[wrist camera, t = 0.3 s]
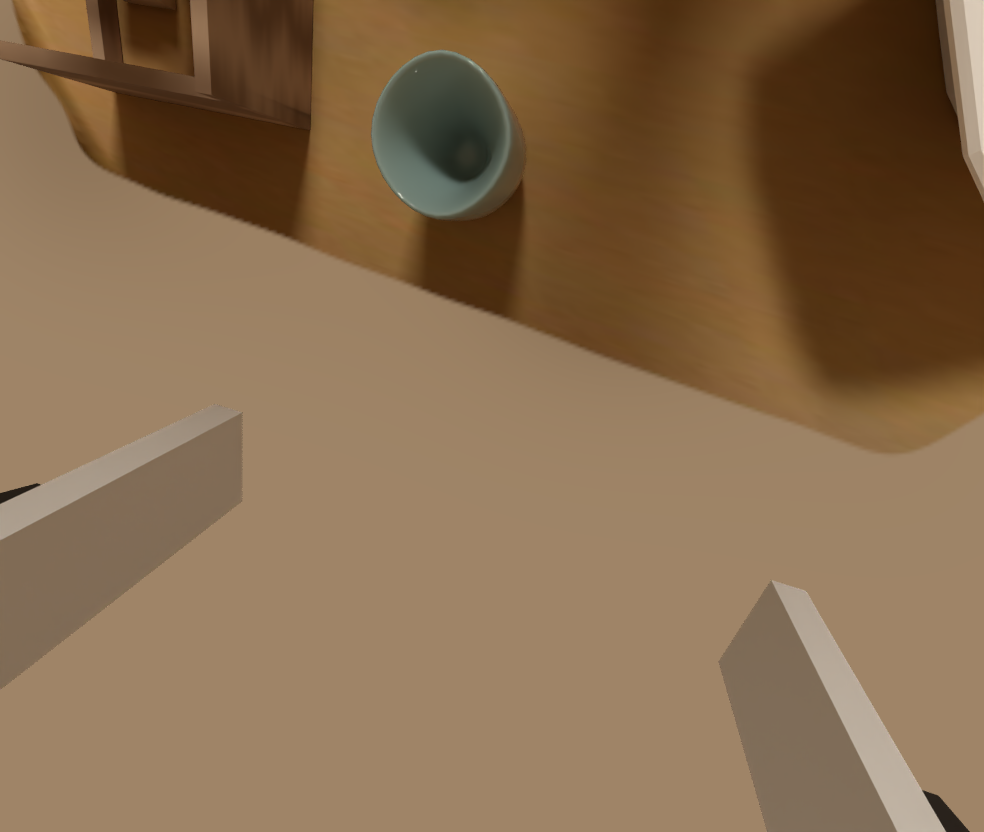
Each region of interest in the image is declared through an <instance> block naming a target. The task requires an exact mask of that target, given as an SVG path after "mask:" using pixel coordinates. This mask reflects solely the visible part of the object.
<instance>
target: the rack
mask: <svg viewBox="0 0 984 832" xmlns="http://www.w3.org/2000/svg"><path fill="white" fill-rule="evenodd" d="M86 6H87V13H88V21H89V28H90V36H91V43H92V51H93V58H92V57H86V56H81V55H75V54H70V53H65V52H59V51H54V50H49V49H43V48H38V47H32V46H27V45H22V44H16V43H10V42H5V41H0V59H2V60H6V61H9V62H13V63H16V64H19V65H23V66H26V67H30V68H33V69H37V70H40V71H44V72H47V73H50V74H54V75H57V76H61V77H64V78H68V79H71V80H75V81H78V82H82V83H85V84H88V85H92V86H95V87H99V88H102V89H106V90H109V91H113V92H116V93H121V94H126V95H132V96H137V97H142V98H147V99H152V100H157V101H163V102H168V103H173V104H178V105H183V106H188V107H193V108H199V109H204V110H209V111H214V112H219V113H224V114H229V115H235V116H240V117H245V118H250V119H255V120H260V121H265V122H271V123H276V124H281V125H286V126H291V127H296V128H301V129H307V130H310V116H311V73H312V30H313V0H190V9H191V25H192V41H193V57H194V74H195V77H194V76H188V75H183V74H178V73H172V72H167V71H161V70H156V69H151V68H145V67H140V66H135V65H129V64H124V63H123V59H122V50H121V41H120V32H119V24H118V15H117V6H116V0H86Z"/></svg>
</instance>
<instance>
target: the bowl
mask: <svg viewBox="0 0 984 832" xmlns="http://www.w3.org/2000/svg"><path fill="white" fill-rule="evenodd" d="M936 9H937V18H938V28H939V36H940V44H941V52H942V61H943V69H944V77H945V85H946V92H947V95H948V97H949V99H950V101H951V103H952V105H953V108H954V110H955V112H956V114H957V116H958V122H959V130H960V138H961V146H962V154H963V158H964V160H965V162H966V164H967V166H968V169H969V171H970V173H971V175H972V177H973V179H974V182H975V184H976V186H977V188H978V190H979V192H980V195H981V197H982V199H983V201H984V0H936Z"/></svg>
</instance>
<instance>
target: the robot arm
mask: <svg viewBox="0 0 984 832" xmlns="http://www.w3.org/2000/svg"><path fill="white" fill-rule="evenodd" d="M241 502H242V412H239V411H236V410H233V409H229V408H226V407H223V406H220V405H217V404H213V405H211V406H209V407H207V408H205V409H203V410H201V411H199V412H196V413H194V414H192V415H190V416H188V417H186V418H184V419H181V420H179V421H177V422H175V423H173V424H171V425H169V426H166V427H164V428H162V429H160V430H158V431H156V432H154V433H151V434H149V435H147V436H145V437H143V438H141V439H139V440H136V441H134V442H132V443H130V444H128V445H126V446H124V447H121V448H119V449H117V450H115V451H113V452H111V453H109V454H106V455H104V456H102V457H100V458H98V459H96V460H94V461H91V462H89V463H87V464H85V465H83V466H81V467H79V468H76V469H74V470H72V471H70V472H68V473H66V474H64V475H62V476H59V477H57V478H55V479H53V480H51V481H49V482H46V483H44V484H42V485H40V484H37V483H36V484H33V485H29V486H25V487H21V488H18V489H14V490H10V491H7V492H3V493H0V690H1V689H2V688H3V687H5V686H6V685H7V684H8V683H10V682H11V681H12V680H14V679H15V678H16V677H17V676H19V675H20V674H21V673H23V672H24V671H25V670H26V669H28V668H29V667H30V666H32V665H33V664H34V663H35V662H37V661H38V660H39V659H40V658H42V657H43V656H44V655H46V654H47V653H48V652H49V651H51V650H52V649H53V648H54V647H56V646H57V645H58V644H60V643H61V642H62V641H64V640H65V639H66V638H67V637H69V636H70V635H71V634H73V633H74V632H75V631H76V630H78V629H79V628H80V627H81V626H83V625H84V624H85V623H86V622H88V621H89V620H90V619H92V618H93V617H94V616H96V615H97V614H98V613H99V612H101V611H102V610H103V609H105V608H106V607H107V606H108V605H110V604H111V603H112V602H114V601H115V600H116V599H117V598H119V597H120V596H121V595H122V594H124V593H125V592H126V591H128V590H129V589H130V588H131V587H133V586H134V585H135V584H137V583H138V582H139V581H140V580H142V579H143V578H144V577H145V576H147V575H148V574H149V573H151V572H152V571H153V570H155V569H156V568H157V567H158V566H160V565H161V564H162V563H164V562H165V561H166V560H167V559H169V558H170V557H171V556H173V555H174V554H175V553H176V552H178V551H179V550H180V549H182V548H183V547H184V546H185V545H187V544H188V543H189V542H191V541H192V540H193V539H194V538H196V537H197V536H198V535H199V534H201V533H202V532H203V531H205V530H206V529H207V528H208V527H210V526H211V525H212V524H214V523H215V522H216V521H217V520H218V519H220V518H221V517H223V516H224V515H225V514H226V513H228V512H229V511H230V510H231V509H233V508H234V507H235V506H237V505H238V504H239V503H241ZM719 665H720V668H721V672H722V675H723V678H724V682H725V685H726V689H727V693H728V696H729V700H730V703H731V707H732V710H733V714H734V717H735V721H736V724H737V728H738V731H739V735H740V738H741V742H742V745H743V748H744V752H745V756H746V759H747V762H748V766H749V770H750V773H751V777H752V780H753V784H754V787H755V791H756V794H757V798H758V801H759V805H760V808H761V812H762V815H763V819H764V822H765V825H766V829H767V832H969V831H968V829H967V828H966V827H965V826H964V825H963V823H962V822H961V821H960V820H959V819H958V818H957V817H956V815H955V814H954V813H953V812H952V811H951V810H950V809H949V807H948V806H947V805H946V804H945V803H944V802H943V800H942V799H941V798H940V797H939V796H938V795H935V794H932V793H929V792H926V791H923V790H921V788H920V786H919V785H918V783H917V781H916V779H915V778H914V776H913V774H912V773H911V771H910V769H909V767H908V766H907V764H906V762H905V761H904V759H903V757H902V755H901V754H900V752H899V750H898V749H897V747H896V745H895V743H894V742H893V740H892V738H891V736H890V735H889V733H888V731H887V730H886V728H885V726H884V724H883V723H882V721H881V719H880V718H879V716H878V714H877V713H876V711H875V709H874V707H873V706H872V704H871V702H870V700H869V699H868V697H867V695H866V694H865V692H864V690H863V688H862V687H861V685H860V683H859V681H858V680H857V678H856V676H855V675H854V673H853V671H852V669H851V668H850V666H849V664H848V662H847V661H846V659H845V657H844V656H843V654H842V652H841V650H840V649H839V647H838V645H837V644H836V642H835V641H834V638H833V637H832V635H831V633H830V632H829V630H828V628H827V626H826V625H825V623H824V621H823V620H822V618H821V617H820V615H819V613H818V611H817V609H816V607H815V606H814V604H813V602H812V601H811V599H810V597H809V595H808V594H807V592H806V591H804V590H801V589H798V588H795V587H792V586H788V585H785V584H782V583H779V582H776V581H772V580H771V581H770V583H769V584H768V586H767V587H766V589H765V590H764V592H763V593H762V595H761V597H760V598H759V600H758V601H757V603H756V604H755V606H754V607H753V609H752V611H751V612H750V614H749V615H748V617H747V619H746V620H745V621H744V623H743V625H742V626H741V628H740V629H739V631H738V632H737V634H736V635H735V637H734V638H733V640H732V642H731V643H730V645H729V646H728V648H727V649H726V651H725V653H724V654H723V655H722V657H721V659H720V660H719Z"/></svg>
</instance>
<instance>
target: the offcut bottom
mask: <svg viewBox="0 0 984 832" xmlns="http://www.w3.org/2000/svg"><path fill="white" fill-rule="evenodd" d="M124 1H126V2H128V3H133V4H140V5H146V6H153V7H159V8H165V9H172V10H176V0H124Z"/></svg>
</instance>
